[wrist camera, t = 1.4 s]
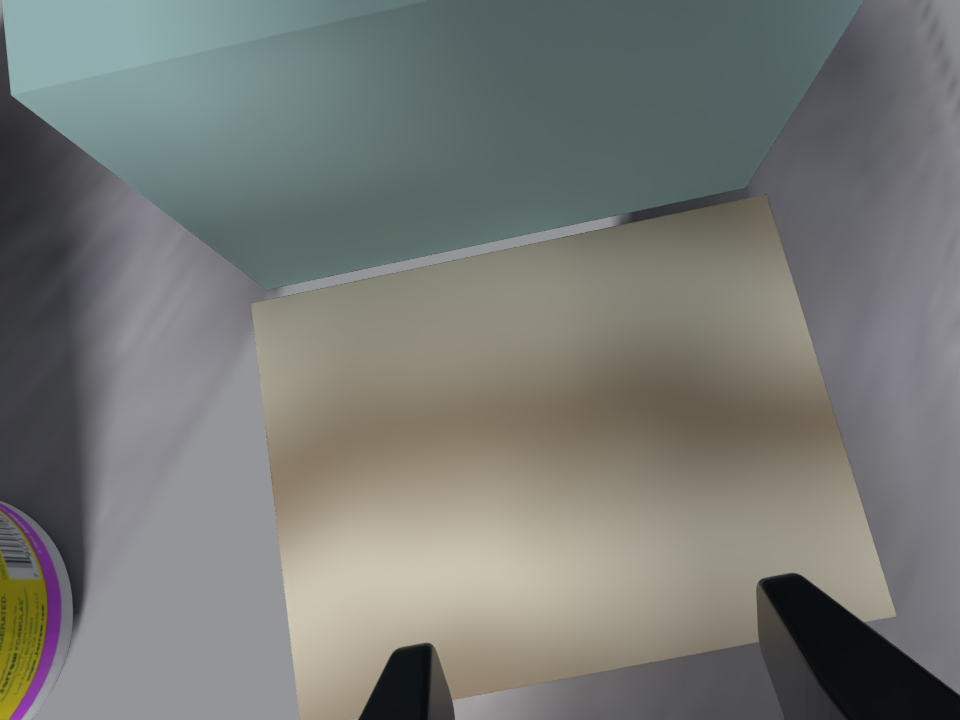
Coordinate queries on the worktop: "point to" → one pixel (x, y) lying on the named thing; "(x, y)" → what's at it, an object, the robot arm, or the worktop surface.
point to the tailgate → (414, 112)
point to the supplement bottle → (30, 615)
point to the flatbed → (554, 458)
